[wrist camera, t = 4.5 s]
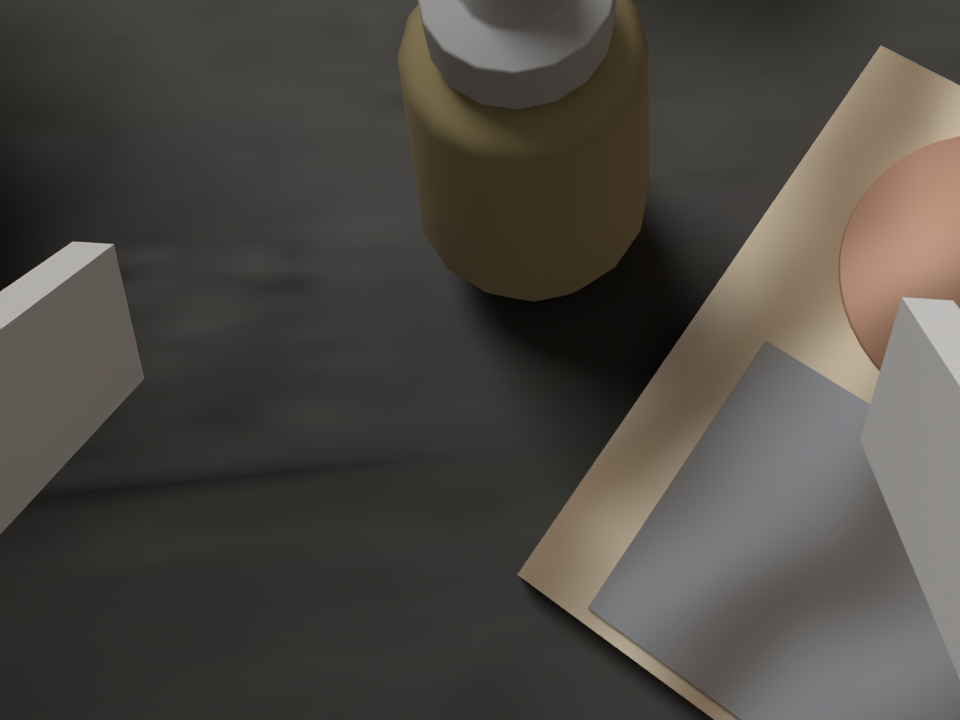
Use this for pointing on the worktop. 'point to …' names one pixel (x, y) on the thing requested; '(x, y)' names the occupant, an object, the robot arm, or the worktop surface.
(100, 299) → the robot arm
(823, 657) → the board
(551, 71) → the squeeze bottle
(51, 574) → the worktop surface
